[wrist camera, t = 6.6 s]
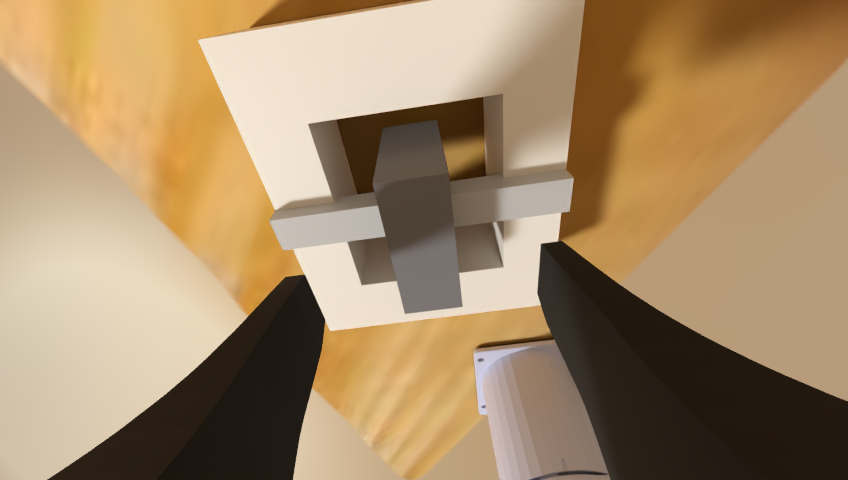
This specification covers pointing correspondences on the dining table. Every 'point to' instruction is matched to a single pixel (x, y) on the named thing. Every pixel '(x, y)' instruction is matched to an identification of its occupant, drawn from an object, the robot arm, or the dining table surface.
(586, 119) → the dining table surface
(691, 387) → the robot arm
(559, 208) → the shallow white tray
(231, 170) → the dining table surface
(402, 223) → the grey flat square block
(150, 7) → the dining table surface
